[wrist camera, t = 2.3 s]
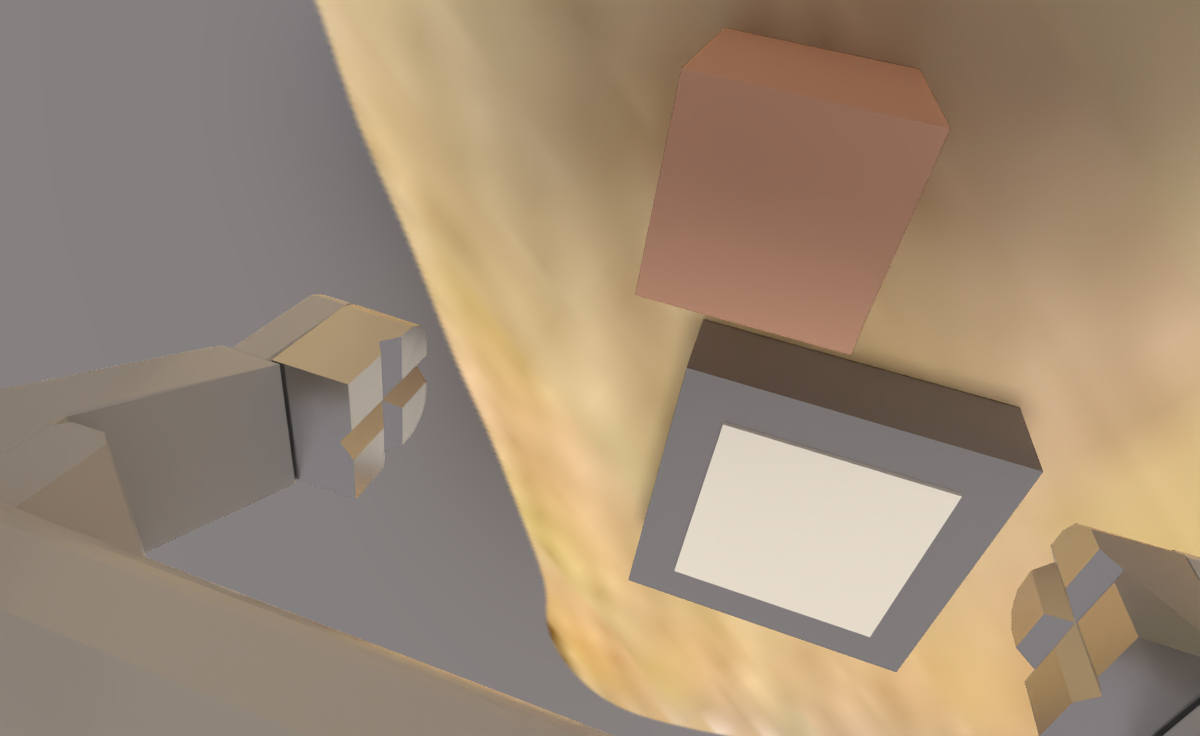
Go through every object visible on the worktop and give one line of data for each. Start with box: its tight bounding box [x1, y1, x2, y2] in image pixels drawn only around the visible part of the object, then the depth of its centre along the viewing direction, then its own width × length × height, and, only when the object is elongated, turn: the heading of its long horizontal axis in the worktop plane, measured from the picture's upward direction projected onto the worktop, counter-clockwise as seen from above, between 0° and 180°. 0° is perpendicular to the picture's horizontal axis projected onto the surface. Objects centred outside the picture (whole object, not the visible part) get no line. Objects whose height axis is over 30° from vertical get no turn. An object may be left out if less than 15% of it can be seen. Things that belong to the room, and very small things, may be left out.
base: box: [629, 320, 1043, 672], centre depth 23 cm, size 10×10×3 cm
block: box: [635, 28, 950, 355], centre depth 17 cm, size 5×5×6 cm
